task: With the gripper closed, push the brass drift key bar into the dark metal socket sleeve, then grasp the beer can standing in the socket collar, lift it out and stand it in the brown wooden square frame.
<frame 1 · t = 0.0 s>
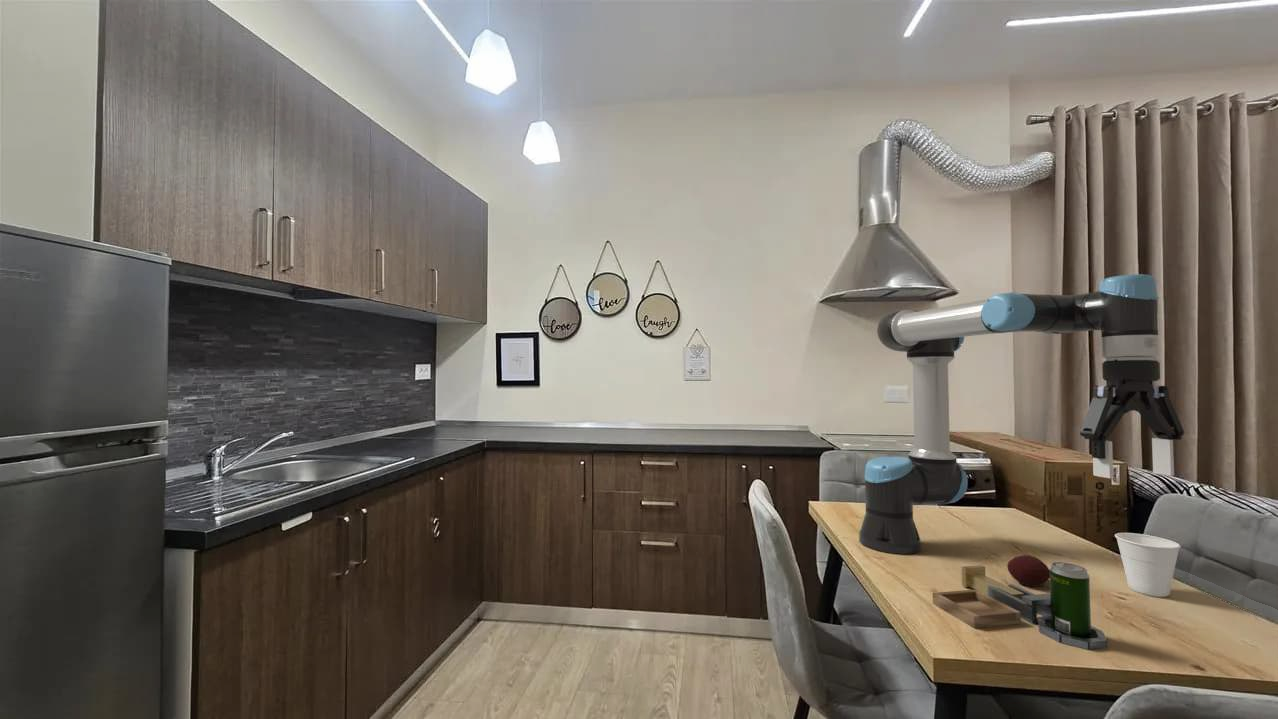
hand: (1133, 475, 90), 28 cm above the table, fingers open, 13 cm apart
potato: (1030, 584, 110), on the table
cup: (1148, 592, 106), on the table
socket: (1028, 613, 96), on the table
brown wooden square frame: (974, 613, 96), on the table
beer can: (1070, 636, 88), resting in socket
drift key: (993, 585, 103), point 2 cm above the table, slide at 0.0 cm
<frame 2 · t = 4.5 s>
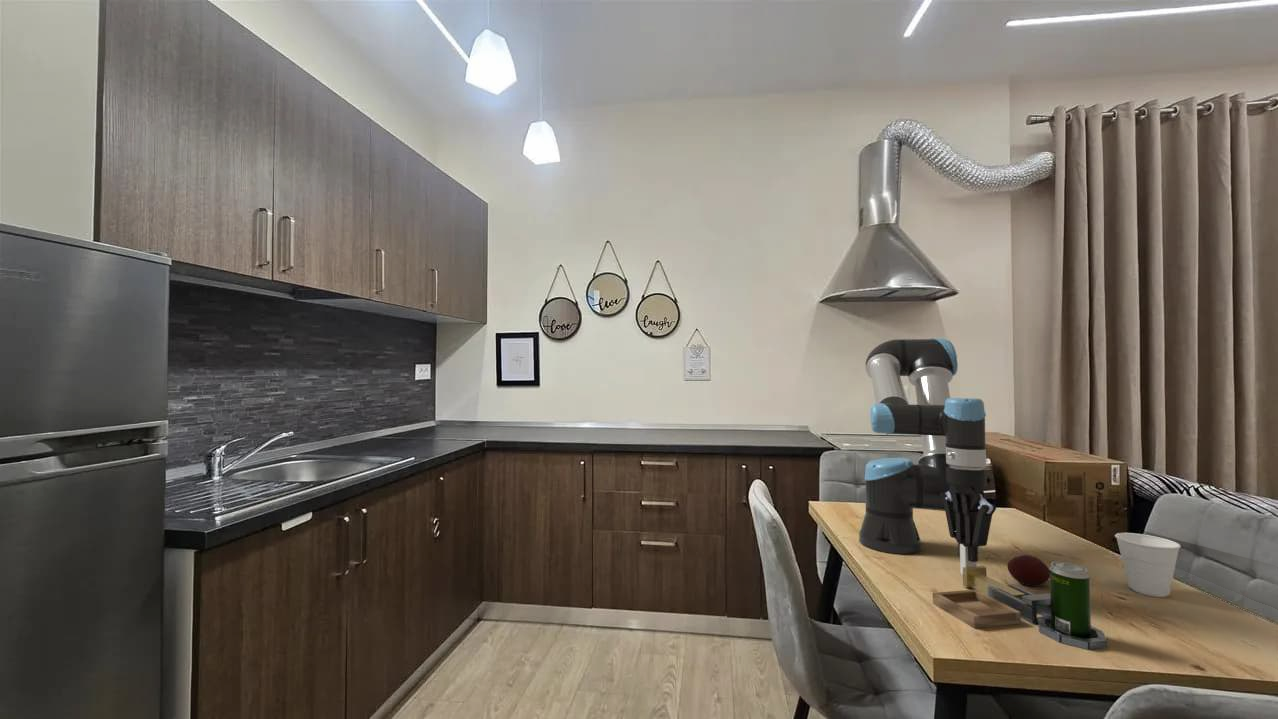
hand: (968, 574, 109), 2 cm above the table, fingers closed
drift key: (994, 586, 103), point 2 cm above the table, slide at 0.3 cm, touching gripper
everything else where it was.
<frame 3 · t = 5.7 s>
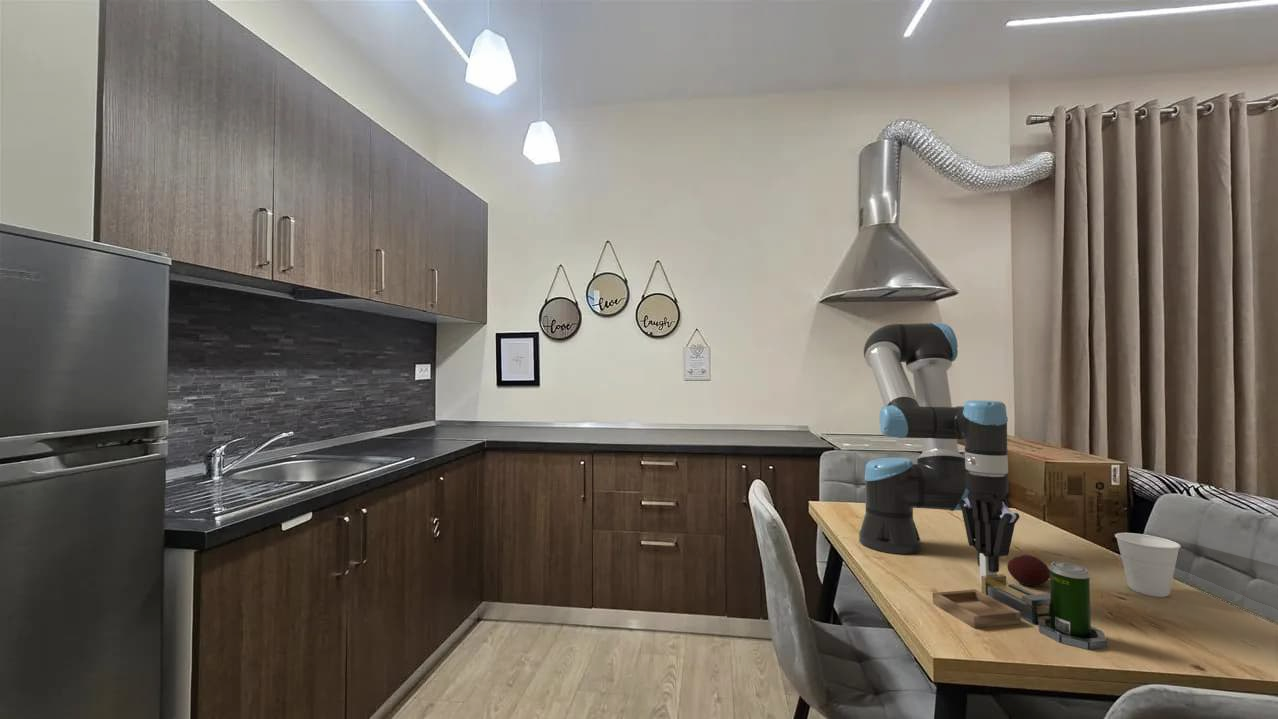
hand: (988, 585, 104), 2 cm above the table, fingers closed
drift key: (1016, 596, 98), point 2 cm above the table, slide at 5.0 cm, touching gripper
everything else where it was.
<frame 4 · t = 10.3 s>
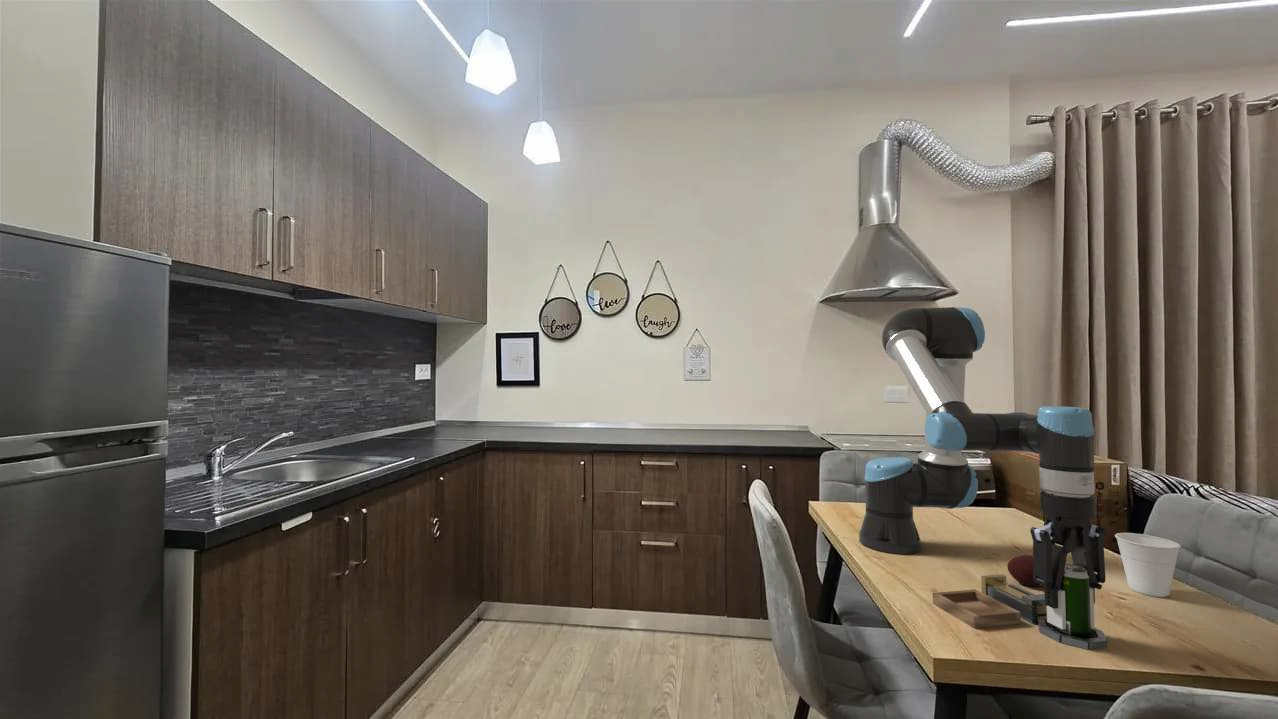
hand: (1070, 623, 88), 2 cm above the table, fingers closed on beer can, 5 cm apart
beer can: (1070, 636, 88), resting in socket, touching gripper
drift key: (1016, 596, 98), point 2 cm above the table, slide at 5.0 cm
everything else where it was.
when the fingers open (4 cm above the table, at t = 15.4 s): beer can drops 1 cm, resting on brown wooden square frame.
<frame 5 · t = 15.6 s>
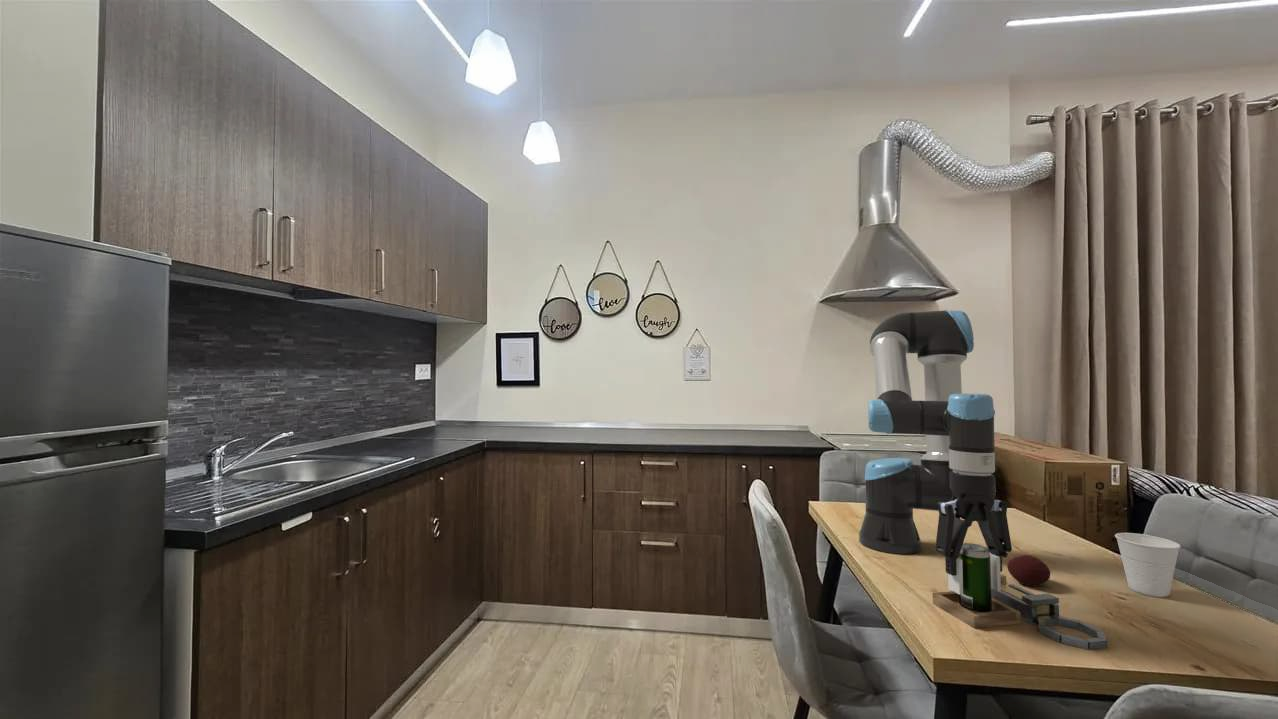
hand: (974, 589, 96), 4 cm above the table, fingers open, 8 cm apart
beer can: (975, 610, 96), resting on brown wooden square frame
everything else where it was.
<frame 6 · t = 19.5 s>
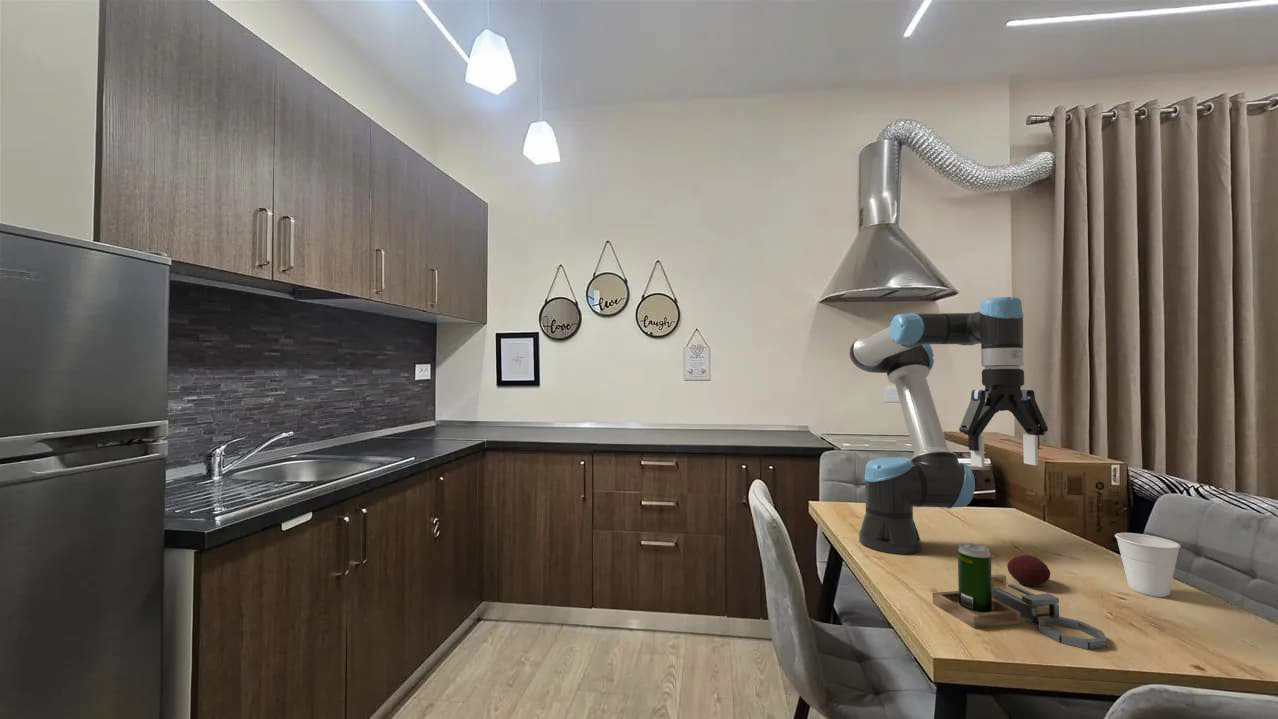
hand: (1004, 465, 107), 27 cm above the table, fingers open, 13 cm apart
nothing on the table moved.
at the end: drift key slide at 5.0 cm; beer can 0.1 cm from the brown wooden square frame (horizontally); beer can tilted 0° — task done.
